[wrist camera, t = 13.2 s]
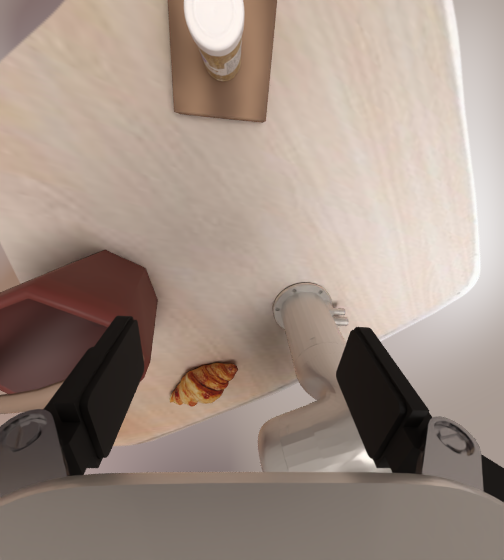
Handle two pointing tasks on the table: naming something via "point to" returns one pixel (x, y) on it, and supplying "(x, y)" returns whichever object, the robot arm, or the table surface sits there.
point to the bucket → (67, 324)
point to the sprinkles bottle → (217, 34)
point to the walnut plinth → (233, 93)
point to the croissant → (203, 384)
